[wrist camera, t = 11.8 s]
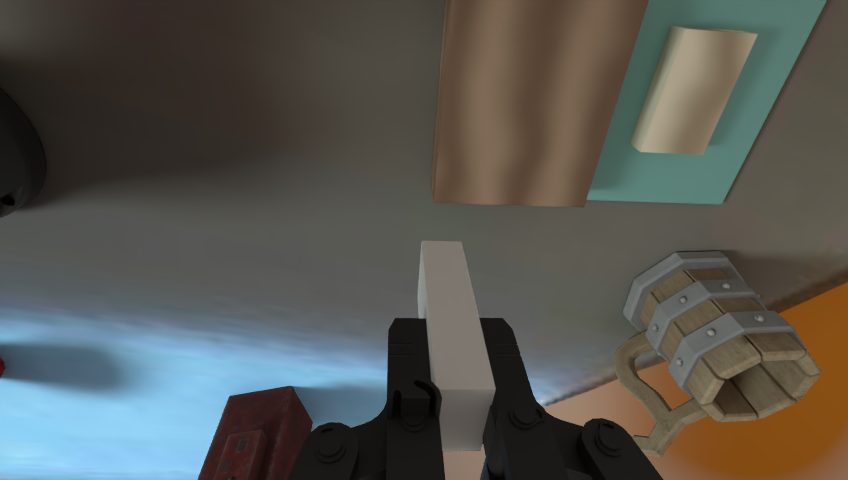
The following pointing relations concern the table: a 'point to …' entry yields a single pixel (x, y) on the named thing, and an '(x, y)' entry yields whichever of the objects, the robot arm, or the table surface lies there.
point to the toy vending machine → (258, 437)
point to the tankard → (709, 347)
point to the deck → (528, 97)
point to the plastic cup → (1, 367)
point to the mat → (743, 113)
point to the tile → (690, 89)
